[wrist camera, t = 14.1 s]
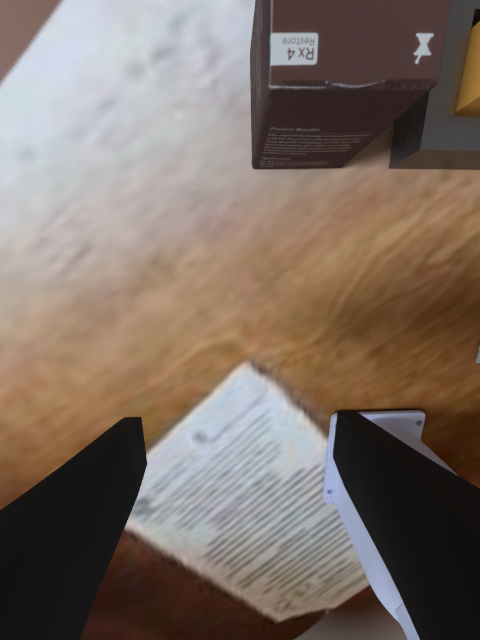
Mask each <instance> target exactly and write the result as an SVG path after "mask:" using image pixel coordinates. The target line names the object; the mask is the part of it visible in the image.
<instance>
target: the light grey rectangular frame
mask: <svg viewBox="0 0 480 640" xmlns="http://www.w3.org/2000/svg"><path fill="white" fill-rule="evenodd" d="M476 363H479V364H480V347H479V351H478V355H477V359H476Z"/></svg>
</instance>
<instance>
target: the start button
mask: <svg viewBox="0 0 480 640" xmlns="http://www.w3.org/2000/svg"><path fill="white" fill-rule="evenodd" d="M455 116H476V117H480V21H479V22H478V23H477V24H476V25H475V26H474V27H473V28H472V29H471V32H470V38H469V43H468V48H467V53H466V59H465V64H464V69H463V74H462V80H461V85H460V90H459V95H458V100H457V106H456V111H455Z"/></svg>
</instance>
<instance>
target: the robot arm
mask: <svg viewBox="0 0 480 640" xmlns="http://www.w3.org/2000/svg"><path fill="white" fill-rule="evenodd" d="M424 421H425V414H424V413H423V412H422V411H420V410H408V411H376V412H356V411H354V410H349V411H338V413H334V414H333V415H332V416H331V421H330V430H329V440H328V449H327V458H326V467H325V476H324V485H323V495H322V498H323V501H324V502H325V503H326V504H335V505H336V507H337V510H338V512H339V514H340V517H341V519H342V521H343V523H344V526H345V528H346V530H347V533H348V535H349V537H350V539H351V542H352V544H353V546H354V549H355V551H356V553H357V556H358V558H359V560H360V562H361V565H362V567H363V569H364V572H365V574H366V576H367V578H368V581H369V583H370V585H371V587H372V589H373V590H374V592H375V594H376V595H377V597H378V598H379V600H380V601H381V603H382V604H383V605H384V606H385V608H386V609H387V610H388V611H389V612H390V613H391V615H392V616H393V617H394V618H395V619H396V620H397V621H398V622H399V623H400V624H401V626H402V628H403V630H404V632H405V634H406V636H407V638H408V640H480V488H478V487H476V486H474V485H473V484H471V483H469V482H467V481H466V480H464V479H462V478H461V477H459V476H458V475H457V474H456V473H455V472H454V471H453V470H452V469H451V468H450V467H449V466H447V465H446V464H445V463H444V462H443V461H442V460H441V459H440V458H439V457H438V456H437V455H436V454H435V453H434V452H432V451H431V450H430V449H429V448H428V447H427V446H426V445H425V444H424V443H423V442H422V441H421V440H420V439H421V435H422V430H423V426H424ZM335 424H336V425H335ZM146 466H147V459H146V451H145V443H144V435H143V427H142V419H141V417H125V418H123V419H121V420H120V421H119V422H117V423H116V424H115V425H113V426H112V427H111V428H109V429H108V430H107V431H106V432H104V433H103V434H102V435H101V436H99V437H98V438H97V439H96V440H94V441H93V442H92V443H91V444H89V445H88V446H87V447H85V448H84V449H83V450H82V451H80V452H79V453H78V454H76V455H75V456H74V457H73V458H71V459H70V460H69V461H68V462H66V463H65V464H64V465H62V466H61V467H60V468H58V469H57V470H56V471H54V472H53V473H51V474H50V475H49V476H47V477H46V478H45V479H43V480H42V481H41V482H39V483H38V484H36V485H35V486H34V487H32V488H31V489H30V490H28V491H27V492H26V493H24V494H23V495H22V496H20V497H19V498H17V499H16V500H14V501H13V502H12V503H10V504H9V505H7V506H6V507H4V508H3V509H1V510H0V640H80V638H81V635H82V632H83V629H84V627H85V624H86V621H87V618H88V615H89V612H90V610H91V607H92V605H93V602H94V599H95V597H96V594H97V592H98V589H99V587H100V584H101V582H102V580H103V577H104V575H105V572H106V570H107V568H108V565H109V563H110V561H111V558H112V556H113V553H114V551H115V549H116V546H117V544H118V542H119V539H120V537H121V534H122V532H123V530H124V527H125V525H126V523H127V520H128V518H129V515H130V513H131V510H132V508H133V506H134V503H135V501H136V498H137V496H138V492H139V489H140V486H141V483H142V480H143V476H144V473H145V469H146Z"/></svg>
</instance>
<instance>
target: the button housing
mask: <svg viewBox="0 0 480 640" xmlns="http://www.w3.org/2000/svg"><path fill="white" fill-rule="evenodd" d="M479 21H480V0H451V5H450V12H449V18H448V25H447V32H446V38H445V45H444V52H443V59H442V65H441V71H440V77H439V81H438V83H437V85H436V86H435V87H434V88H433V89H431V90H430V91H428V92H427V93H426V94H425V95H423V96H422V97H421V98H420V99H419V100H418V101H417V102H416V103H415V104H414V105H413V106H412V107H411V108H410V109H408V110H407V111H406V112H405V113H404V114H402V115H401V116H400V117H398V118H397V119H396V121H395V129H394V136H393V143H392V150H391V158H390V165H389V168H401V169H473V170H480V117H476V116H455V111H456V106H457V100H458V95H459V90H460V85H461V80H462V74H463V69H464V64H465V59H466V53H467V48H468V43H469V38H470V32H471V29H472V28H473V27H474V26H475V25H476V24H477V23H478V22H479Z"/></svg>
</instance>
